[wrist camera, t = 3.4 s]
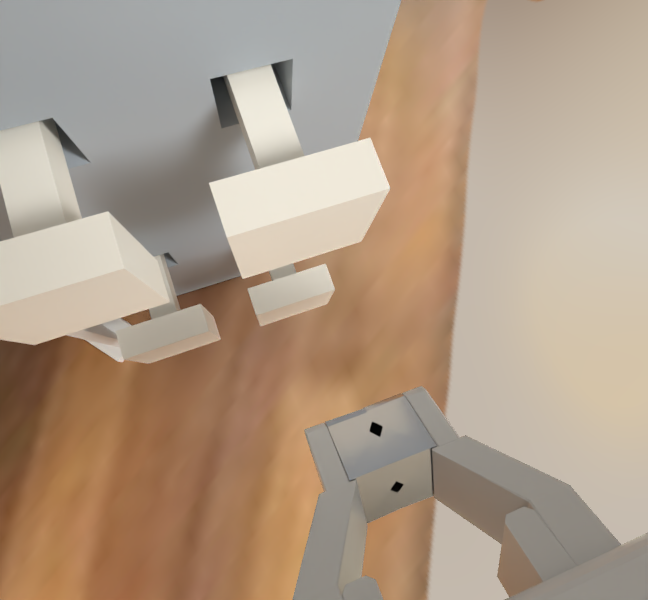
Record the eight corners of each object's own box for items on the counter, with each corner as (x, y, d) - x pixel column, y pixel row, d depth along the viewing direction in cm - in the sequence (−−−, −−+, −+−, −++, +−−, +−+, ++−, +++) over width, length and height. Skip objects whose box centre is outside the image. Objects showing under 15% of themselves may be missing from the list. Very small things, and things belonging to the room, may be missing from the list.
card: (8, 286, 26) (-160, 226, 16) (31, 259, 26) (-119, 183, 16) (122, 362, 26) (23, 347, 16) (144, 333, 26) (61, 301, 16)
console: (132, 309, 26) (-554, -38, 5) (97, 188, 27) (-582, -537, 6) (324, 249, 28) (463, -206, 6) (283, 137, 29) (286, -563, 8)
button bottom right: (260, 326, 22) (256, 315, 19) (226, 225, 23) (216, 196, 19) (326, 304, 22) (335, 289, 19) (291, 205, 23) (293, 174, 20)
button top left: (34, 345, 11) (-73, 328, 8) (-14, 154, 12) (-130, 63, 9) (170, 301, 12) (124, 268, 8) (115, 121, 13) (53, 24, 9)
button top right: (242, 279, 12) (226, 237, 9) (184, 104, 13) (149, 3, 10) (361, 241, 13) (390, 188, 9) (298, 75, 14) (304, -30, 10)
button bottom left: (148, 363, 21) (123, 359, 18) (118, 257, 22) (87, 233, 19) (220, 339, 22) (209, 331, 18) (188, 236, 22) (171, 209, 19)
